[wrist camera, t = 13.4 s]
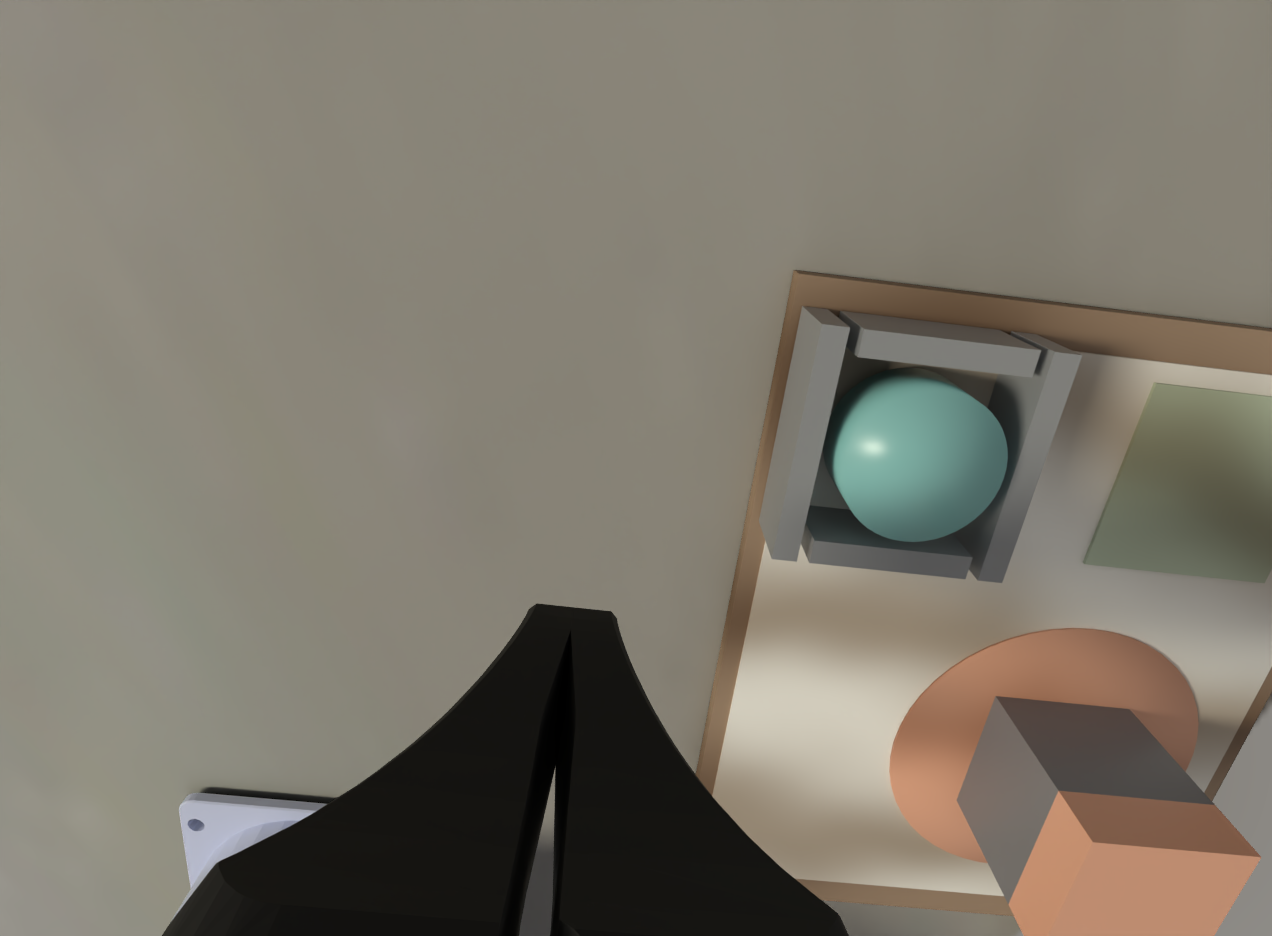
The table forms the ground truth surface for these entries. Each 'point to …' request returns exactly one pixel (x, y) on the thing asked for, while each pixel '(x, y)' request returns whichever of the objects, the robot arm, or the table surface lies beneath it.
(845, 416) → the button
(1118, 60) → the table surface
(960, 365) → the button housing
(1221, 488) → the colouring board
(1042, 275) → the table surface
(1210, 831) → the salmon block
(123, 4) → the table surface
